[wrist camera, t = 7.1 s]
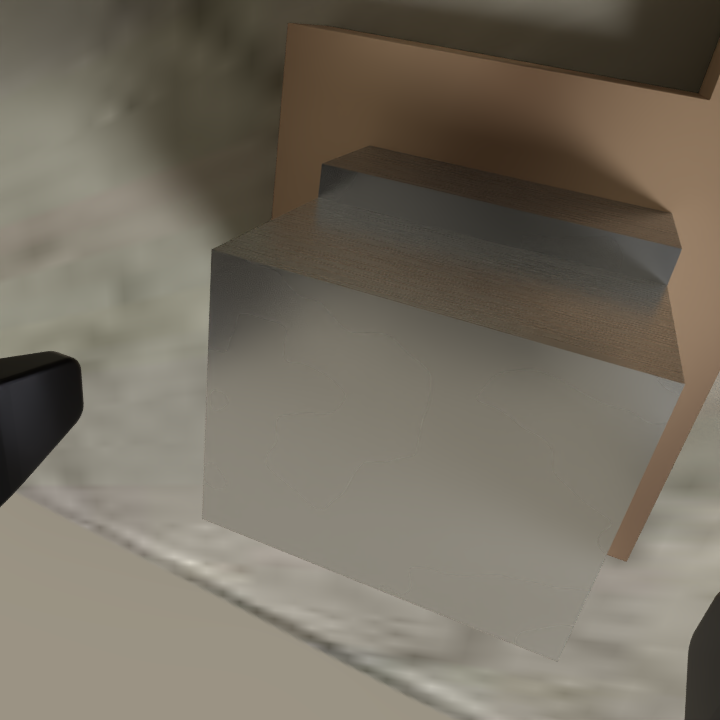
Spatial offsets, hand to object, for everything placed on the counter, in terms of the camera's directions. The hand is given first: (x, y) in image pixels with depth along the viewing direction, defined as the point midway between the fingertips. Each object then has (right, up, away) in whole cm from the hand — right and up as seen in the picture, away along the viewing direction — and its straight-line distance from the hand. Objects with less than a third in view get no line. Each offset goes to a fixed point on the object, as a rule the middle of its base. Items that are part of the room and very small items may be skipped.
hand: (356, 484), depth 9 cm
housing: (+3, +3, +5) cm, 7 cm away
